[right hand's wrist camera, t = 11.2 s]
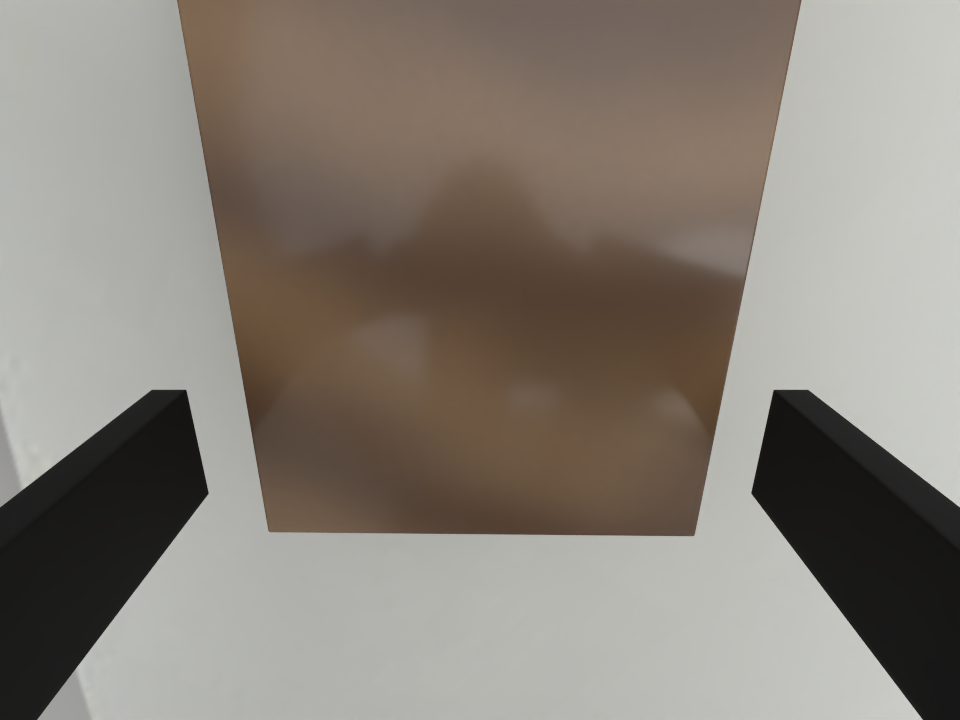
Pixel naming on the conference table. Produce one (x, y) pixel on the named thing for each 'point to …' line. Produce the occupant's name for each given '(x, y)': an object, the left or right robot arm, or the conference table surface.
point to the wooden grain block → (486, 250)
